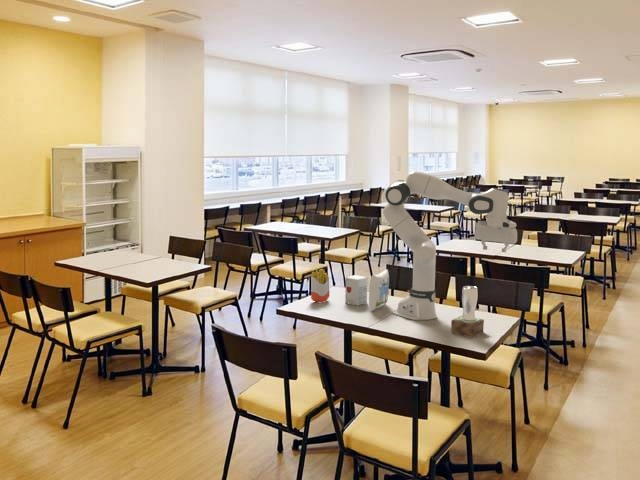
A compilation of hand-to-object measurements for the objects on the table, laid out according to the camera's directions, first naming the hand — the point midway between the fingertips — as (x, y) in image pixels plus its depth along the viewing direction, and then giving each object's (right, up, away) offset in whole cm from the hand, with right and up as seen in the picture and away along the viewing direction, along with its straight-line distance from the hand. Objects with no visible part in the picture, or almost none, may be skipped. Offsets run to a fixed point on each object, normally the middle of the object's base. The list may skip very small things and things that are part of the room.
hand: (494, 250), depth 278 cm
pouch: (-52, -32, +33) cm, 70 cm away
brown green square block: (-15, -38, -9) cm, 42 cm away
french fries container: (-84, -30, +45) cm, 100 cm away
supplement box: (-64, -30, +43) cm, 83 cm away
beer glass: (-15, -32, -9) cm, 36 cm away
